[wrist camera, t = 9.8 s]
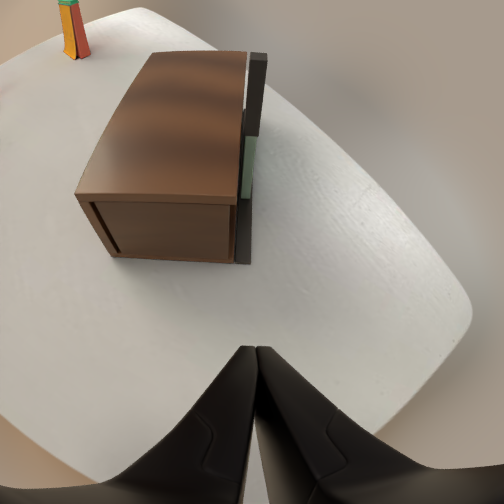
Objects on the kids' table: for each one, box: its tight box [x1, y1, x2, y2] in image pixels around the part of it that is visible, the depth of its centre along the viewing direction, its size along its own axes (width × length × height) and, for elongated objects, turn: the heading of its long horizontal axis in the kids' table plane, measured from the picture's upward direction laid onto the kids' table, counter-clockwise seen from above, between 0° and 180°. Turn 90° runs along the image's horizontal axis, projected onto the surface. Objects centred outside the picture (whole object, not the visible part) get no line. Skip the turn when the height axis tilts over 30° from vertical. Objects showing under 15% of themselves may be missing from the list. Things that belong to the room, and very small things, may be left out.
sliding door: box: [241, 52, 267, 199], centre depth 23 cm, size 10×1×13 cm, turn 179°
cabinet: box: [74, 51, 253, 264], centre depth 25 cm, size 20×11×8 cm, turn 179°
